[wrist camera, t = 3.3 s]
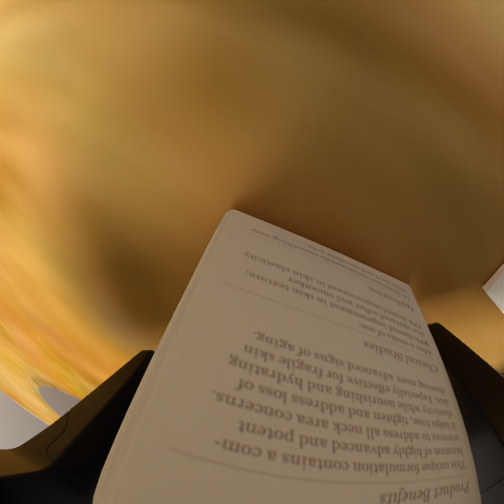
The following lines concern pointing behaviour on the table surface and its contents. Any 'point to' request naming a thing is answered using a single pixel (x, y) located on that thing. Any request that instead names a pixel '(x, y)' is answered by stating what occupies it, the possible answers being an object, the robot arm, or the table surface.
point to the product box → (291, 387)
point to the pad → (496, 288)
